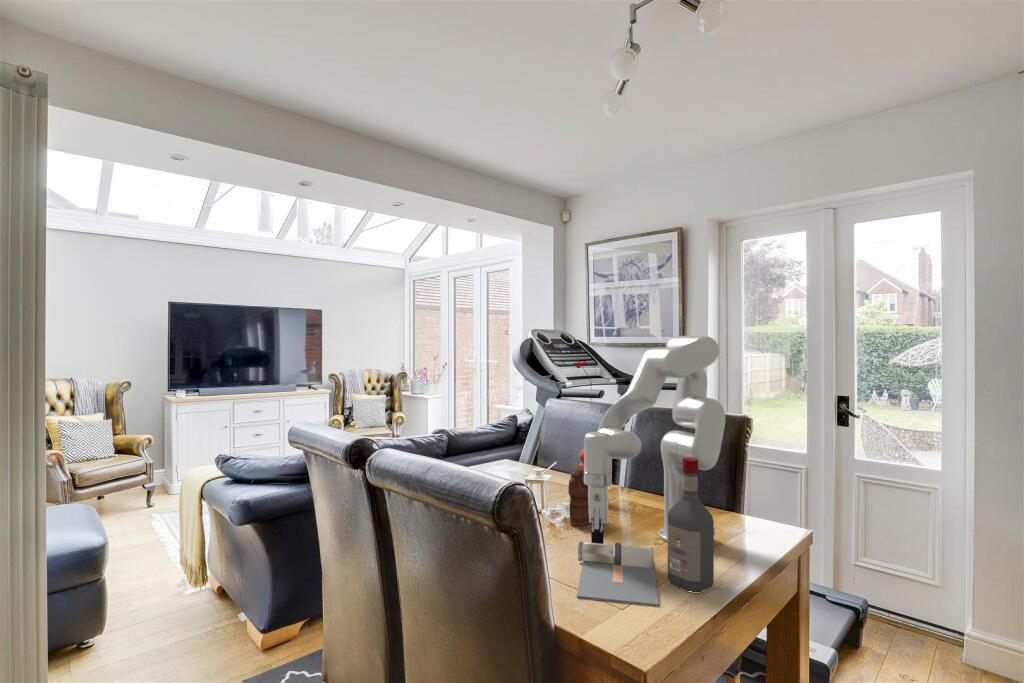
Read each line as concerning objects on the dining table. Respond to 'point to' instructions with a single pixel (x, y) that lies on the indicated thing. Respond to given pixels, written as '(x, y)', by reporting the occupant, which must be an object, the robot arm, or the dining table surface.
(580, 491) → the wooden figurine
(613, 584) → the board
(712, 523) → the liquor
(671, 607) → the dining table surface
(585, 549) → the hinged panel
